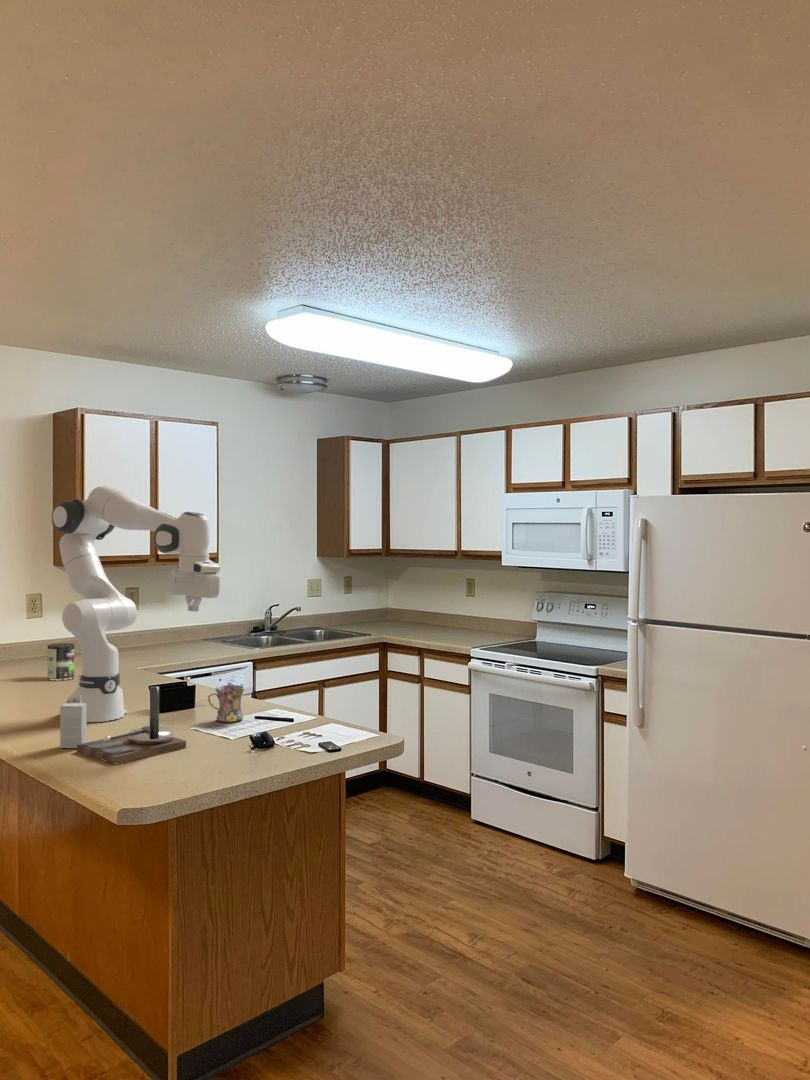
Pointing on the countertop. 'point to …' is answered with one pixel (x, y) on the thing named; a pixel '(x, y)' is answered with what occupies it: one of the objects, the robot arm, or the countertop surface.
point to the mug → (229, 702)
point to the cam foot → (152, 732)
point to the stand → (127, 749)
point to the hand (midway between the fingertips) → (193, 611)
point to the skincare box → (73, 725)
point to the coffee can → (60, 660)
